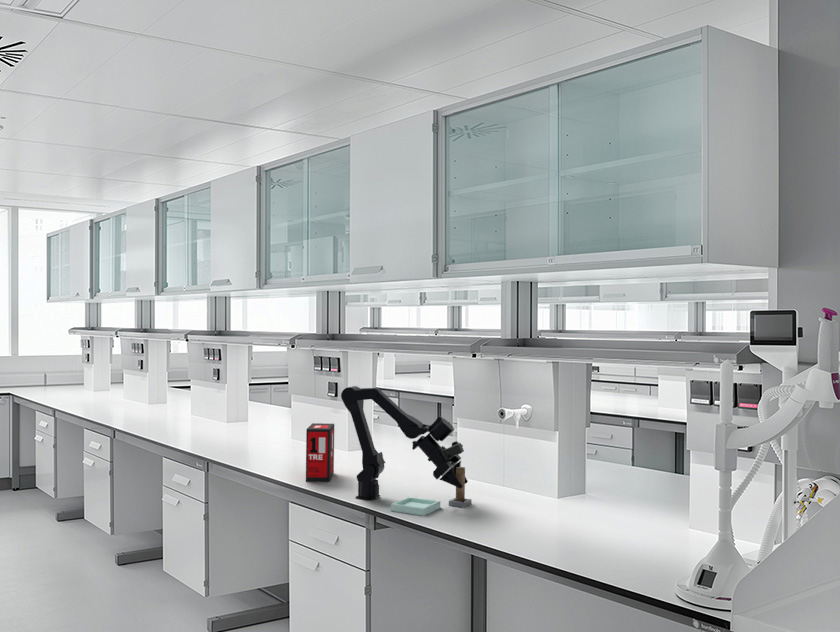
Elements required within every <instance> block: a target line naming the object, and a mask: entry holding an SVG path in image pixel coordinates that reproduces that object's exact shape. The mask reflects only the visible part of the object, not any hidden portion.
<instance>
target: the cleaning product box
mask: <svg viewBox="0 0 840 632" xmlns="http://www.w3.org/2000/svg"><path fill="white" fill-rule="evenodd" d="M305 438H306V441H305V443H306V445H305V483H307V482H309V483H311V482H312V483H314V482H315V483H329V482H330V481H331V479H332V477H333V475H334V474H335V470H334V469H335V423H321V422H320V423H314V422H313V423H312V422H311V424H310V425H309V426H308V427H307V428H306V437H305Z"/></svg>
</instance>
